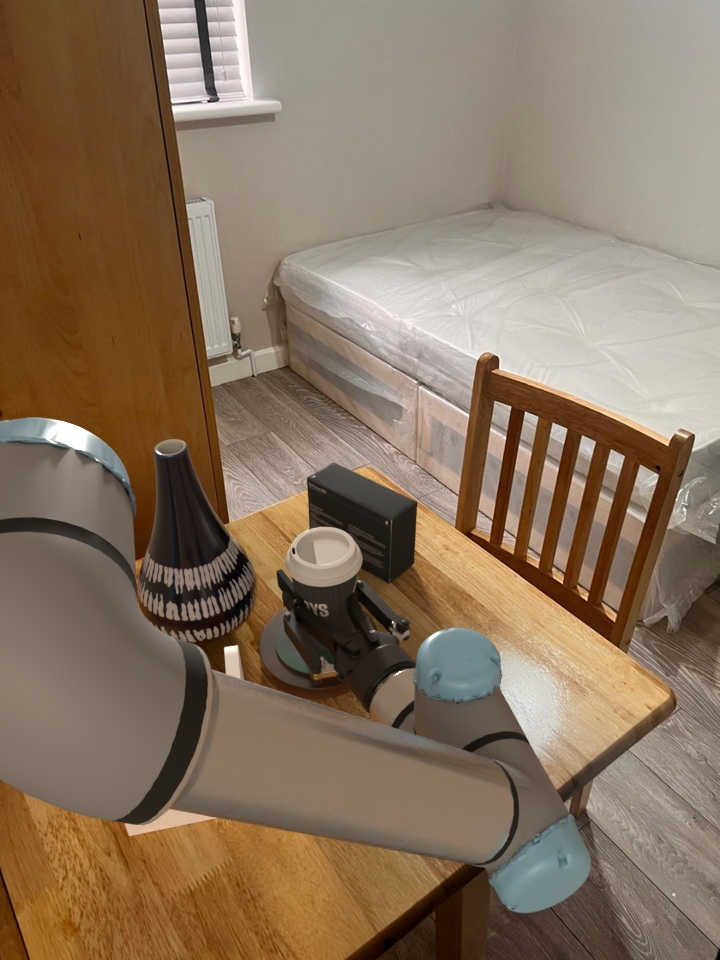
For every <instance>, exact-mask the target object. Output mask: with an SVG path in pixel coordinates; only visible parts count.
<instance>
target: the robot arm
mask: <svg viewBox="0 0 720 960" xmlns="http://www.w3.org/2000/svg"><path fill="white" fill-rule="evenodd" d="M130 481H131V480H130V477H129V475H128V472H127V468H126V467H125V464H124V463H123V461H122V460H121V458H120V456H118V453H116V452H115V451H114V449H113V448H111V447H110V446H109V444H107V443H106V442H105V441H104V440H102V439H101V438H100V437H98V436H97V435H96V434H94V433H92V432H90V431H89V430H86V429H85V428H82V427H80V426H78V425H75V424H72V423H69V422H66V421H63V420H58V419H53V418H46V417H30V416H29V417H23V418H16V419H15V418H14V419H10V420H9V419H7V420H0V781H1V782H3V783H5V784H7V785H9V786H11V787H12V788H14V789H16V790H17V791H20V792H21V793H23V794H25V795H27V796H30V797H32V798H35V799H37V800H39V801H42V802H44V803H47V804H49V805H51V806H54V807H56V808H59V809H61V810H64V811H67V812H72V813H74V814H78V815H82V816H85V817H88V818H93V819H97V820H104V821H109V822H115V823H122V824H124V823H127V824H133V825H146V824H149V823H151V822H153V821H155V820H157V819H158V818H159V817H160V816H162V815H163V814H164V813H165V812H166V811H168V810H169V809H171V810H177V811H182V812H188V813H193V814H199V815H204V816H209V817H215V818H216V819H221V820H226V821H231V822H236V823H243V824H248V825H253V826H257V827H258V826H259V827H264V828H269V829H270V828H271V829H274V830H275V829H276V830H281V831H284V832H290V833H291V832H292V833H297V834H301V835H308V836H312V837H319V838H324V839H330V840H335V841H339V842H345V843H351V844H357V845H361V846H367V847H373V848H378V849H383V850H390V851H394V852H399V853H406V854H410V855H417V856H422V857H427V858H433V859H437V860H442V861H443V860H444V861H449V862H455V863H460V864H465V865H469V866H470V865H471V866H473V867H478V868H484V869H485V870H486V873H487V875H488V879H487V881H488V883H489V885H490V886H492V887H493V889H494V890H495V892H496V895H497V897H498V898H499V900H500V902H501V903H502V904H503V905H504V906H505V907H506V909H508V910H510V911H511V912H514V913H517V914H529V913H536V912H540V911H543V910H546V909H549V908H551V907H553V906H555V905H558V904H559V903H562V902H563V901H565V900H566V899H567V898H569V897H570V896H573V894H574V893H575V892H577V891H578V890H579V889H580V888H581V887H582V885H584V883H585V882H586V881H587V879H588V877H589V875H590V872H591V869H592V859H591V854H590V852H589V849H588V848H587V846H586V844H585V843H586V842H585V841H584V839H583V838H582V835H581V833H580V832H579V829H578V827H577V824H576V823H575V819H576V818H575V816H574V815H573V814H572V813H571V812H570V811H569V810H568V808H567V805H566V804H565V802H564V801H563V799H562V797H561V796H560V794H559V791H558V790H557V788H556V787H555V785H554V783H553V782H552V780H551V778H550V776H549V774H548V773H547V770H546V769H545V768H544V766H543V764H542V762H541V760H540V758H539V757H538V755H537V753H536V752H535V750H534V749H533V746H532V745H531V742H530V740H529V738H528V737H527V735H526V733H525V731H524V729H523V727H522V726H521V724H520V723H519V720H518V719H517V717H516V715H515V713H514V712H513V709H512V708H511V705H510V704H509V702H508V701H507V699H506V697H505V694H503V692H502V690H501V689H502V688H501V682H502V679H503V674H502V673H503V671H502V663H501V661H502V660H501V654H500V652H499V650H498V648H497V646H496V645H495V644H494V642H493V641H492V640H490V639H489V638H488V637H487V636H486V635H484V634H482V633H480V632H478V631H475V630H473V629H469V628H466V627H449V628H444V629H442V630H438V631H435V632H434V633H431V635H429V636H428V637H426V638H425V640H423V642H422V643H421V644H420V646H419V648H418V650H417V655H416V661H415V660H414V659H413V657H412V656H411V655H410V654H409V653H408V652H407V651H406V649H405V648H403V647H402V646H401V643H402V642H403V641H404V642H406V641H409V640H410V638H411V621H410V620H409V619H407V618H405V617H403V616H401V615H399V614H397V613H396V612H395V611H394V610H393V609H392V608H391V607H390V606H389V605H388V604H387V603H386V602H385V601H384V599H383V598H381V597H380V595H378V594H377V593H376V591H374V590H373V589H372V587H371V586H369V584H368V583H367V582H366V581H364V580H361V579H360V580H357V586H356V591H355V593H354V592H353V593H352V594H351V595H350V596H349V597H347V613H348V615H349V617H350V619H351V621H352V623H353V625H354V627H355V630H356V631H355V632H354V633H352V634H348V635H344V634H343V633H342V632H341V631H339V630H334V629H333V628H332V627H331V626H329V625H328V624H327V623H325V622H324V621H323V620H322V619H320V618H319V617H318V616H317V615H315V614H314V613H313V612H311V611H310V610H309V609H308V608H306V607H305V603H304V599H303V598H301V597H300V596H299V595H298V594H297V593H296V591H295V589H294V586H293V581H292V579H291V578H290V577H289V576H288V574H286V572H285V570H284V569H282V568H279V569H277V570H275V571H276V580H277V586H278V588H279V590H280V591H281V598H282V604H283V606H284V608H287V610H288V611H289V612H287V613H284V614H283V623H284V631H285V633H286V634H287V636H288V637H289V639H290V640H291V642H292V643H293V645H294V646H295V648H296V649H297V651H298V652H299V654H300V655H301V657H302V658H303V660H304V661H305V663H306V664H307V666H308V667H309V669H310V673H311V679H312V683H313V684H315V685H318V684H320V683H321V682H322V678H328V677H336V678H337V679H338V680H340V681H342V682H344V683H346V684H347V686H348V687H349V689H350V690H351V691H350V692H351V694H353V696H354V697H355V698H356V700H357V701H358V703H359V704H360V705H361V706H362V708H363V710H365V712H366V713H368V714H369V716H370V718H371V719H372V720H371V719H368V718H365V717H361V716H359V715H355V714H352V713H349V712H347V711H343V710H340V709H336V708H333V707H330V706H328V705H324V704H321V703H318V702H314V701H311V700H310V699H307V698H301V697H297V696H293V695H291V694H288V693H286V692H284V691H282V690H281V691H280V690H278V689H275V688H271V687H268V686H264V685H261V684H259V683H255V682H252V681H249V680H245V679H244V680H243V679H240V678H237V677H234V676H230V675H227V674H226V673H224V672H222V671H218V670H215V669H212V666H211V663H210V661H209V658H208V655H207V654H206V652H205V651H204V649H202V648H201V647H200V646H196V645H194V644H192V643H189V642H186V641H183V640H180V639H177V638H174V637H171V636H169V635H167V634H165V633H163V632H161V631H160V630H158V629H157V628H156V627H155V626H154V625H153V624H152V623H151V622H150V621H149V620H148V619H147V618H146V617H145V616H144V615H143V613H142V611H141V610H140V607H139V602H138V590H137V583H138V578H137V566H136V564H137V563H136V549H135V533H134V521H135V518H136V513H137V504H136V497H135V494H134V492H133V489H132V487H131V482H130ZM362 606H363V607H364V609H365V610H367V611H368V613H370V614H369V615H371V616H372V617H373V618H374V619H375V620H376V621H377V623H379V624H380V626H381V627H382V628H383V629H384V630H385V631H387V632H388V633H387V632H384V631H381V630H378V631H377V630H374V628H373V626H372V624H371V622H370V620H369V618H368V617H366V615H365V613H364V611H365V610H364V609H363V608H362ZM302 628H303V629H304V630H305V631H306V632H307V633H309V634H310V635H311V636H312V637H314V638H315V639H316V640H317V641H318V642H320V643H321V644H322V645H323V646H325V647H326V648H327V649H328V650H329V651H330V653H331V655H332V656H333V657H335V659H334V664H329V663H328V662H327V660H326V659H325V658H324V657H320V656H319V653H318V651H317V649H316V647H315V646H314V645H313V643H312V642H311V640H310V639H309V637H308V636H307V634H306V633H305V632H304V630H303V629H302Z"/></svg>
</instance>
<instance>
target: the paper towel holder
mask: <svg viewBox="0 0 720 960" xmlns="http://www.w3.org/2000/svg"><path fill="white" fill-rule="evenodd" d="M363 611H364V613H365V615H366V617H368V618H369V620H370V622H371V624H372V626H373V628H374V630H377V631H379V629H378V627H377V624H376V623H375V621H374V620H373V618H372V617H371V616H370V614H368V613H367V612H366V611H365V610H363ZM287 612H289V611H288V610H287V608H286V607H284V608H282V609H281V610H279V611H278V612H276V613H275V614H274V615H273V616H272V617H271V618H270V619H269V621H268V622H266V624H265V625H264V627H263V629H262V630H261V631H262V632H261V633H260V636H259V641H258V652H259V660H260V665H261V668H262V670H263V673H264V674H265V677H266V678H267V679H268V680H269V681H270V683H272V684H273V685H274V686H275V687H276V688H278V689H279V690H281V692H284V693H287V694H290V695H293V696H296V697H299V698H302V699H306V700H324V699H332V698H336V697H340V696H343V695H345V694H347V693H350V692H351V690H350V689H349V687H348V686H347V684H346V683H344V682H342V681H340V680H338V679H337V678H336V677H328V678H322V682H321V683H320V684H318V685H315V684H313V683H312V679H311V673H310V669H309V667H308V666H307V664H306V663H305V661H304V660H303V658H302V657H301V655H300V654H299V652H298V651H297V649H296V648H295V646H294V645H293V643H292V642H291V640H290V639H289V637H288V636H287V634H286V633H285V631H284V623H283V614H284V613H287ZM302 629H303V628H302ZM355 631H356V630H355V627H353V633H354V632H355ZM317 651H318V653H319V656H320V657H324V658H325V659H326V660H327V662H328V663H329V664H334V659H335V657H333V656H332V655H331V653H330V652H325V651H319V650H317Z"/></svg>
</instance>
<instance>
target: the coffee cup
mask: <svg viewBox="0 0 720 960" xmlns="http://www.w3.org/2000/svg"><path fill="white" fill-rule="evenodd" d="M362 561H363V558H362V554H361V551H360V549H359V547H358V545H357V544H356V542H355V541H354V540H353V538H352V537H351V536H350V535H349V534H348V533H346V532H345V531H343V530H340V529H337V528H332V527H318V528H313V529H310V530H309V529H307V530H305V531H302V532H301V533H300V534H298V535H297V536H296V537H295V538H294V539H293V540H292V542H291V544H290V546H289V548H288V550H287V552H286V555H285V559H284V566H285V567H284V568H285V570H286V572H287V573H288V575H289V576H290V577H291V581H292V582H293V586H294V589H295V591H296V593H297V594H298V595H299V596H300V597H301V598H303V599H304V603H305V607H306V608H308V609H309V610H310V611H311V612H313V613H314V614H315V615H317V616H318V617H319V618H320V619H322V620H323V621H324V622H325V623H327V624H328V625H329V626H331V627H332V628H333V629H334V630H339V631H341V632H342V633H343V634H344V635H348V634H352V633H353V627H354V625H353V623H352V621H351V619H350V617H349V615H348V613H347V597H349V596H350V595H351V594H352V593H353V592H354V593H355V591H356V586H357V581H358V575H359V571H360V569H361V568H362V567H361V565H362ZM303 630H304V629H303ZM304 632H305V633H306V634H307V636H308V637H309V639H310V640H311V642H312V643H313V645H314V646H315V647H316V649H317V650H319V651H325V652H330V651H329V650H328V649H327V648H326V647H325V646H323V645H322V644H321V643H320V642H318V641H317V640H316V639H315V638H314V637H312V636H311V635H310V634H309V633H307V632H306V631H305V630H304Z"/></svg>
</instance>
